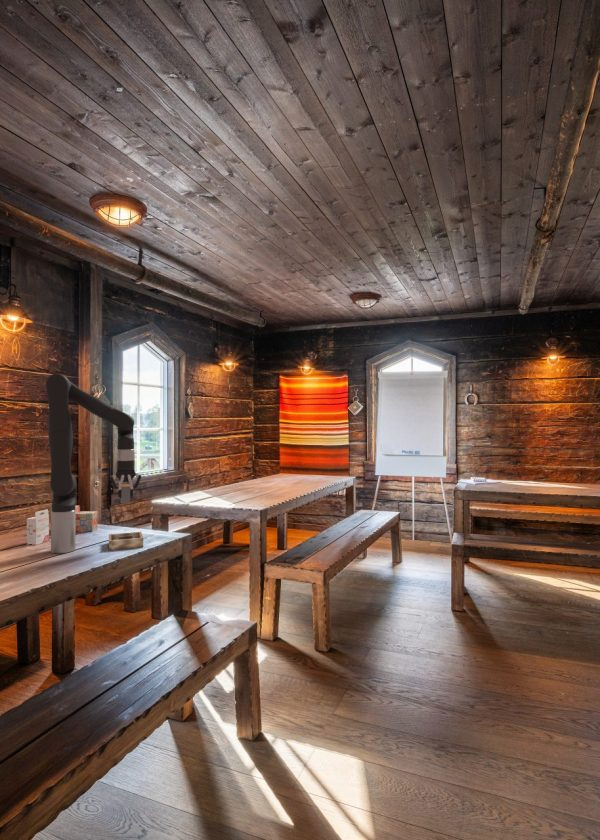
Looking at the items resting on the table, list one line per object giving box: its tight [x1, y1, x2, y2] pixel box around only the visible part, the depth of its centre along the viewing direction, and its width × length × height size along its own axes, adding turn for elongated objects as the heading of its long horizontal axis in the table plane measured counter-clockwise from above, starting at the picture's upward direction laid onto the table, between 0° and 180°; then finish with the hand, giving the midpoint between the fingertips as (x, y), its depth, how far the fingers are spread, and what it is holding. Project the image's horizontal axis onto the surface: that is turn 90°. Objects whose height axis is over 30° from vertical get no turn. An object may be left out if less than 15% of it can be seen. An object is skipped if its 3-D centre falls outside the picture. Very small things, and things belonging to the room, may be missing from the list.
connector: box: [120, 482, 131, 505], centre depth 217 cm, size 4×4×9 cm
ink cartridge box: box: [26, 508, 50, 546], centre depth 221 cm, size 9×5×15 cm, turn 168°
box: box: [108, 531, 144, 551], centre depth 216 cm, size 14×14×4 cm
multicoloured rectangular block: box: [49, 505, 98, 533], centre depth 246 cm, size 21×6×12 cm, turn 89°
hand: (125, 497), depth 217 cm, fingers closed on connector, 3 cm apart
